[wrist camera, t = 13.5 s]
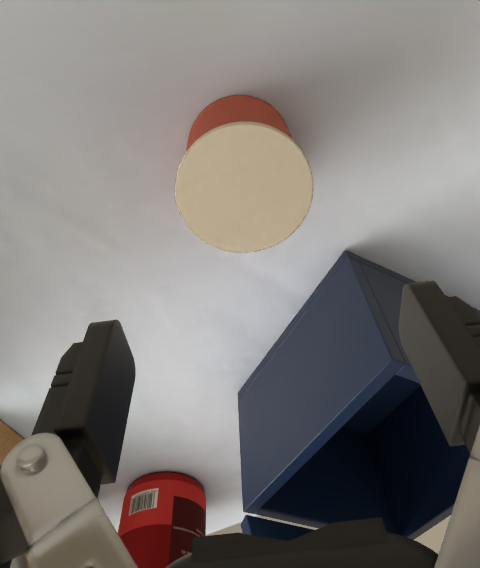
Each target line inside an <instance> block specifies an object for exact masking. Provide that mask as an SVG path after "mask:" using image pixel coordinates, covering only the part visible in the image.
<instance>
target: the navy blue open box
mask: <svg viewBox="0 0 480 568" xmlns="http://www.w3.org/2000/svg"><path fill="white" fill-rule="evenodd" d="M409 283H417V282H414V281H412V280H410V279H408V278H406V277H403V276H401V275H399V274H397V273H395V272H392V271H390V270H388V269H386V268H383V267H381V266H379V265H377V264H375V263H372V262H370V261H368V260H366V259H364V258H361V257H359V256H357V255H355V254H353V253H350V252H348V251H344V253H343V254H342V255H341V257H340V258H339V259H338V260H337V262H336V263H335V264H334V266H333V267H332V268H331V270H330V271H329V272H328V274H327V275H326V276H325V278H324V279H323V280H322V282H321V283H320V284H319V286H318V287H317V288H316V290H315V291H314V292H313V294H312V295H311V296H310V298H309V299H308V300H307V302H306V303H305V304H304V306H303V307H302V308H301V310H300V311H299V312H298V314H297V315H296V316H295V318H294V319H293V320H292V322H291V323H290V324H289V326H288V327H287V328H286V330H285V331H284V332H283V334H282V335H281V336H280V338H279V339H278V340H277V342H276V343H275V344H274V346H273V347H272V348H271V350H270V351H269V352H268V354H267V355H266V356H265V358H264V359H263V360H262V362H261V363H260V364H259V366H258V367H257V368H256V370H255V371H254V372H253V374H252V375H251V376H250V378H249V379H248V380H247V382H246V383H245V384H244V386H243V387H242V388H241V390H240V391H239V392H238V410H239V432H240V454H241V476H242V497H243V512H247V513H251V514H257V515H261V516H266V517H270V518H275V519H279V520H284V521H288V522H293V523H297V524H302V525H307V526H311V527H315V528H322V527H325V526H327V525H330V524H332V523H335V522H344V521H353V520H362V519H372V518H381V517H382V520H383V523H384V526H385V530H386V532H389V533H394V534H398V535H401V536H405V537H407V538H410V539H412V540H414V539H415V538H417V537H418V536H420V535H421V534H423V533H424V532H426V531H427V530H429V529H430V528H432V527H433V526H435V525H436V524H438V523H439V522H441V521H442V520H444V519H445V518H447V517H448V516H449V515H451V514H452V511H453V507H454V504H455V501H456V498H457V495H458V492H459V489H460V485H461V482H462V479H463V476H464V473H465V470H466V467H467V463H468V460H469V457H470V455H471V454H470V452H469V450H468V448H467V446H466V445H459V446H450V445H449V443H448V441H447V439H446V437H445V435H444V433H443V431H442V429H441V427H440V425H439V422H438V420H437V418H436V416H435V414H434V412H433V410H432V408H431V406H430V404H429V402H428V399H427V397H426V395H425V393H424V391H423V389H422V387H421V385H420V383H419V381H418V379H417V377H416V374H415V372H414V370H413V368H412V366H411V364H410V362H409V360H408V358H407V356H406V354H405V351H404V349H403V347H402V344H401V341H400V337H399V317H400V308H401V299H402V290H403V287H404V285H405V284H409ZM445 297H446V298H447V297H448V296H445ZM473 309H474V308H473ZM474 310H475V312H476V313H477V314H478V316H479V317H480V311H478V310H476V309H474Z"/></svg>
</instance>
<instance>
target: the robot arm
mask: <svg viewBox="0 0 480 568" xmlns="http://www.w3.org/2000/svg"><path fill="white" fill-rule="evenodd" d="M399 337H400V341H401V344H402V347H403V349H404V351H405V354H406V356H407V358H408V360H409V362H410V364H411V366H412V368H413V370H414V372H415V374H416V377H417V379H418V381H419V383H420V385H421V387H422V389H423V391H424V393H425V395H426V397H427V399H428V402H429V404H430V406H431V408H432V410H433V412H434V414H435V416H436V418H437V420H438V422H439V425H440V427H441V429H442V431H443V433H444V435H445V437H446V439H447V441H448V443H449V445H450V446H459V445H466V446H467V448H468V450H469V452H470V454H471V455H470V457H469V460H468V463H467V467H466V470H465V473H464V476H463V479H462V482H461V485H460V489H459V492H458V495H457V498H456V501H455V504H454V507H453V511H452V514H451V517H450V521H449V523H448V526H447V530H446V533H445V536H444V539H443V542H442V546H441V549H440V552H439V555H438V554H437V553H435V552H434V551H433V550H431V549H430V548H428V547H426V546H424V545H422V544H421V543H419V542H417V541H414V540H412V539H410V538H407V537H405V536H401V535H398V534H394V533H389V532H386V530H385V526H384V523H383V520H382V517H381V518H372V519H362V520H353V521H344V522H335V523H332V524H330V525H327V526H325V527H322V528H320V529H317V530H315V531H312V532H310V533H307V534H305V535H302V536H300V537H297V538H295V539H292V540H287V541H284V540H278V539H272V538H266V537H260V536H254V535H248V534H242V533H233V534H222V535H213V536H203V537H194V538H192V553H189V554H187V555H185V556H183V557H181V558H179V559H177V560H176V561H174V562H173V563H171V564H170V565H169V566H167V567H166V568H480V317H479V316H478V314H477V313H476V312H475V310H474V309H473V307H471V306H470V305H468V304H467V303H465V302H464V301H462V300H461V299H459V298H458V297H456V296H455V297H447V298H446V297H445V295H444V294H443V292H442V291H441V289H440V288H439V286H438V285H437V284H436V282H435V281H425V282H417V283H409V284H405V285H404V287H403V290H402V299H401V308H400V317H399ZM134 382H135V362H134V358H133V355H132V352H131V350H130V347H129V345H128V342H127V339H126V337H125V334H124V331H123V329H122V326H121V324H120V322H119V321H118V320H110V321H102V322H95V323H90V325H89V326H88V329H87V332H86V335H85V338H84V341H83V342H79V343H74V344H73V345H72V346H71V347H70V348H69V349H68V350H67V352H66V353H65V354H64V355H63V356H62V357H61V360H60V363H59V365H58V368H57V370H56V375H55V376H54V378H53V381H52V383H51V388H50V389H49V391H48V394H47V396H46V399H45V402H44V404H43V407H42V410H41V412H40V415H39V417H38V420H37V423H36V425H35V428H34V430H33V433H32V435H31V436H30V437H28V438H26V439H24V440H22V441H21V442H20V443H18V444H17V445H16V446H15V447H14V448H13V449H12V450H11V451H10V452H9V453H8V455H7V456H6V457H5V459H4V461H3V463H2V465H0V568H10V566H11V562H12V559H14V558H16V557H18V556H21V555H23V554H25V553H26V556H27V559H28V562H29V564H30V567H31V568H138V567H137V565H136V563H135V562H134V560H133V558H132V557H131V555H130V553H129V552H128V550H127V548H126V547H125V545H124V543H123V542H122V540H121V538H120V537H119V535H118V533H117V532H116V530H115V528H114V526H113V525H112V523H111V521H110V520H109V518H108V516H107V515H106V513H105V511H104V510H103V508H102V506H101V505H100V503H99V501H98V500H97V498H98V493H99V489H100V484H108V483H115V481H116V476H117V471H118V466H119V460H120V455H121V450H122V445H123V439H124V434H125V429H126V424H127V418H128V413H129V408H130V403H131V397H132V392H133V387H134Z"/></svg>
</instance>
